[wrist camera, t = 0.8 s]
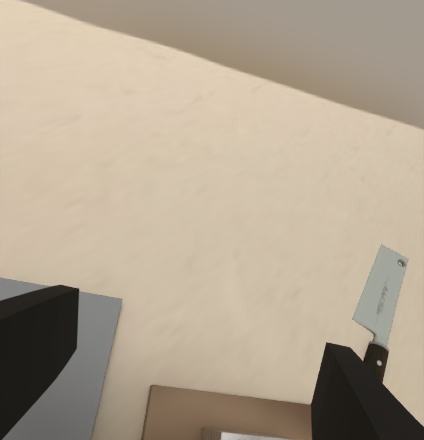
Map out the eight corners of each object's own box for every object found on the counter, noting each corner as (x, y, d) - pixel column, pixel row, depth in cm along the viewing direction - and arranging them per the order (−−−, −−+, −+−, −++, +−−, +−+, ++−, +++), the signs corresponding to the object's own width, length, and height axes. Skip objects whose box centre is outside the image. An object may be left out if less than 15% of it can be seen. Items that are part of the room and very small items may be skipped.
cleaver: (366, 231, 34) (415, 257, 33) (359, 238, 35) (406, 263, 35) (308, 399, 25) (373, 438, 25) (301, 400, 27) (362, 438, 26)
